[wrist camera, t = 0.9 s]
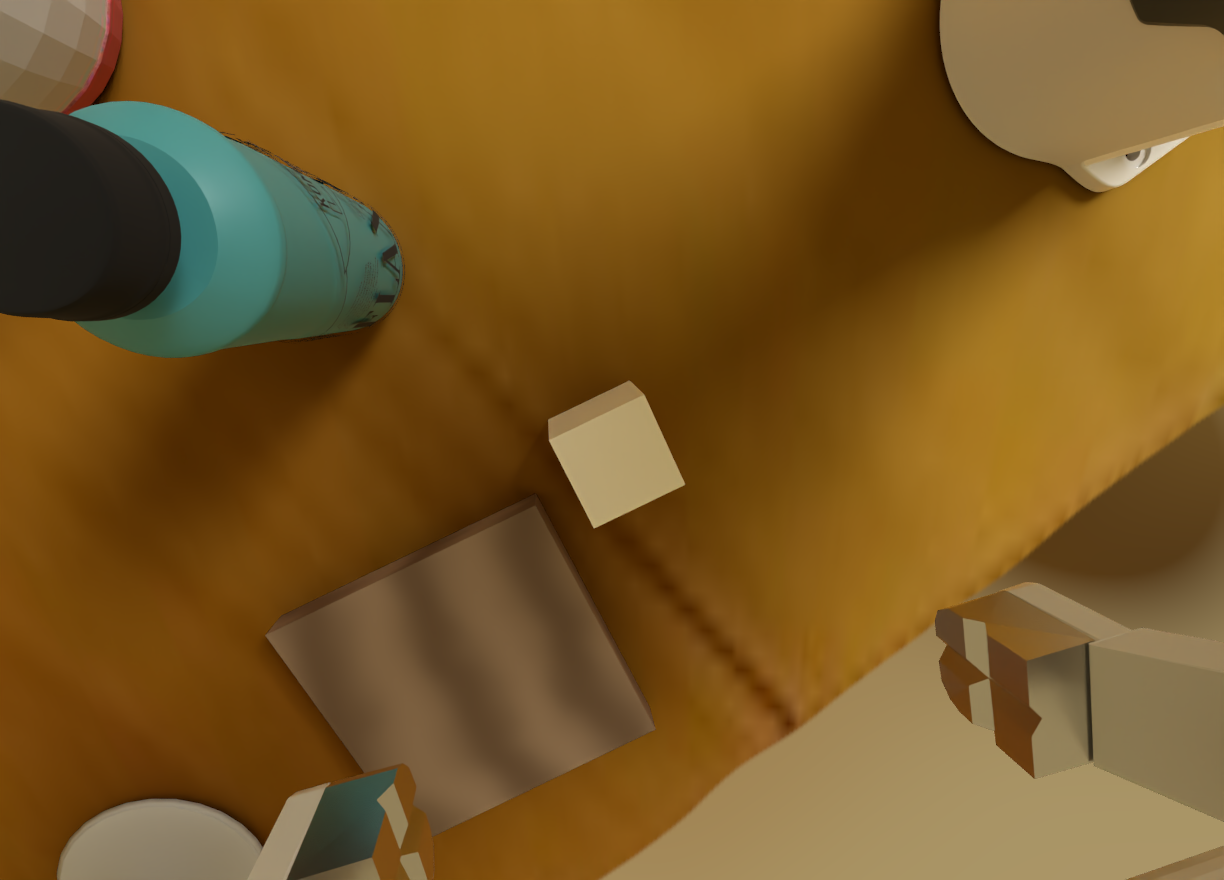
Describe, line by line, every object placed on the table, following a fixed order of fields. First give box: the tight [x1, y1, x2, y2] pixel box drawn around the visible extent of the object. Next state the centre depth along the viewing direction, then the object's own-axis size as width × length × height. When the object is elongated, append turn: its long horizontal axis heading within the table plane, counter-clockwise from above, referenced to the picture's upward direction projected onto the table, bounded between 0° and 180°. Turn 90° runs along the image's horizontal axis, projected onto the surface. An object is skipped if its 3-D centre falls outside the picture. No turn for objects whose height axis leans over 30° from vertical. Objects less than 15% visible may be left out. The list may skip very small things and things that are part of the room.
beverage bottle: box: [0, 99, 405, 358], centre depth 20 cm, size 6×7×20 cm
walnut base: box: [265, 494, 656, 837], centre depth 35 cm, size 16×16×2 cm
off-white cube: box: [548, 380, 685, 528], centre depth 31 cm, size 5×5×5 cm
